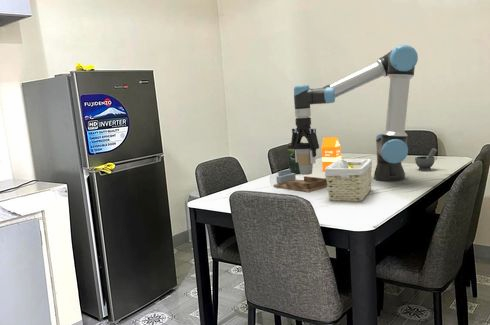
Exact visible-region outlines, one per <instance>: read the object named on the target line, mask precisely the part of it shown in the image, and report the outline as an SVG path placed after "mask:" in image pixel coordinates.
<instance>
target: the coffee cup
mask: <svg viewBox="0 0 490 325" xmlns="http://www.w3.org/2000/svg"><path fill="white" fill-rule="evenodd" d="M295 149H296V150H297V158H298V165H299V169H300V174H299V175H304V176H307V175H312V174H313V167H314V163H313V164H311V158H310V150H311V148H310V145H309V143H308V142H303V143H299V144H296V147H295Z"/></svg>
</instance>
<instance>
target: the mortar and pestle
mask: <svg viewBox="0 0 490 325" xmlns="http://www.w3.org/2000/svg"><path fill="white" fill-rule="evenodd" d="M437 151H438V150H437V149H436V148H435V147H434V148H433V147H432V148H431V151H430V152H429V153H428V155H426V156H425V155H423V156H416V157H414V161H415V164H416V165H417V167H418V171H419V170H421V171H420V172H428V171H427V170H430V171H432V166H434V164H435V155H436V153H437Z"/></svg>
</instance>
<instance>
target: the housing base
mask: <svg viewBox="0 0 490 325" xmlns="http://www.w3.org/2000/svg"><path fill="white" fill-rule="evenodd" d="M273 188H276V189H278V188H279V189H285V190H291V191H297V192H302V191H303V193H311V191H312V192H314V191H318V190H321V189H325V188H328V186H327V180H326V178H322V177H313V176H307V175H304V176H303V179H297V178H296V180H294V181H286V183H282V184H278V183H274V184H273Z"/></svg>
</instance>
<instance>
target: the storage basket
mask: <svg viewBox="0 0 490 325" xmlns="http://www.w3.org/2000/svg"><path fill="white" fill-rule="evenodd" d="M372 162H373V160H372V159H371V158H341V159H339V160H337V161H335V162H334V163H332V164H331V165H329V166H327V167H326V168H325V172H324V176H325V179H326V180H327V186H328V187H327V192H328V198H329V200H330V201H345V202H362V201H363V200H364V199H365V197H366V196H367V195H368V194H369V193H370V191H371V190H372V176H373V175H372V171H373V169H372V168H373V163H372ZM349 166H361V167H358V168H349Z"/></svg>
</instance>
